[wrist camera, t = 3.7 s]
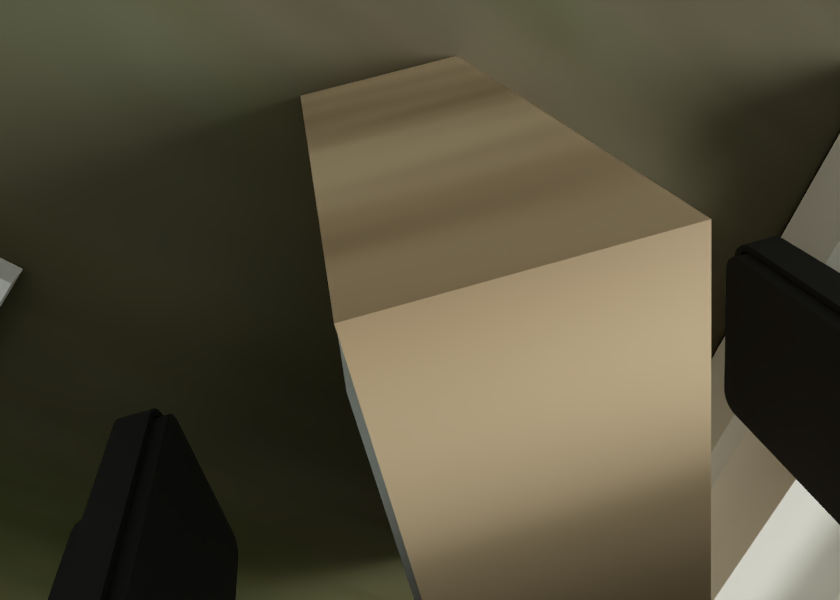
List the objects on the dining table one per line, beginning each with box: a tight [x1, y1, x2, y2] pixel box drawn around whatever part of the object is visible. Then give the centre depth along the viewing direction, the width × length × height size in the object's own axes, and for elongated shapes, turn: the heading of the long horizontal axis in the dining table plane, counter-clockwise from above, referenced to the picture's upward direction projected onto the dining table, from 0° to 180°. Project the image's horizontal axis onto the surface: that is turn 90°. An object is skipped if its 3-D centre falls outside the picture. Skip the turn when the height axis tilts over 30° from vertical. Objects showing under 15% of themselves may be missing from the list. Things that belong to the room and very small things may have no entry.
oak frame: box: [300, 56, 711, 600], centre depth 10 cm, size 10×2×7 cm, turn 12°
